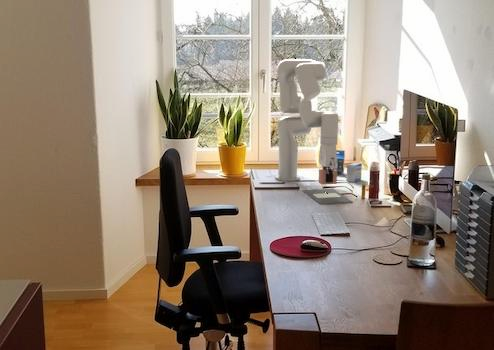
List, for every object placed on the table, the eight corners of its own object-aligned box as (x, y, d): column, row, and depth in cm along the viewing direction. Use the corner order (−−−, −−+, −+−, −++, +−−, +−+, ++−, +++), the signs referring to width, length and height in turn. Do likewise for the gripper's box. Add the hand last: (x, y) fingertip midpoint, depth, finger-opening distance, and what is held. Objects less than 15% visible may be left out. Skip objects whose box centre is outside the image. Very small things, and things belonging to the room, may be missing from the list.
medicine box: (354, 182, 286) (355, 165, 285) (346, 181, 289) (346, 164, 287) (361, 179, 293) (362, 163, 291) (353, 178, 295) (354, 162, 293)
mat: (302, 191, 269) (302, 189, 268) (332, 189, 272) (332, 188, 272) (319, 204, 246) (319, 203, 246) (352, 202, 249) (352, 201, 249)
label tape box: (326, 173, 307) (327, 150, 304) (327, 171, 310) (328, 149, 308) (342, 174, 304) (343, 151, 301) (343, 173, 308) (345, 150, 305)
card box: (333, 181, 260) (333, 168, 259) (336, 183, 256) (337, 170, 255) (318, 182, 258) (319, 169, 257) (321, 184, 255) (322, 171, 253)
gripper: (314, 138, 260) (313, 177, 264) (327, 144, 244) (326, 185, 248) (330, 137, 262) (328, 176, 266) (344, 143, 246) (342, 185, 250)
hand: (327, 180), depth 257 cm, fingers closed on card box, 4 cm apart
